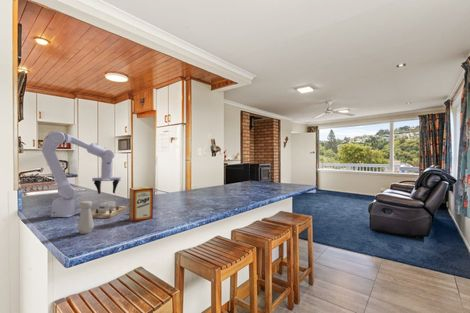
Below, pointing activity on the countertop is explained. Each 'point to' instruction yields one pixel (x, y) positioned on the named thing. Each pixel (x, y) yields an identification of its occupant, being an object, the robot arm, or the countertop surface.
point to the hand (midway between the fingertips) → (106, 193)
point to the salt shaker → (85, 218)
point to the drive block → (106, 207)
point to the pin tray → (111, 213)
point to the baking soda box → (141, 203)
